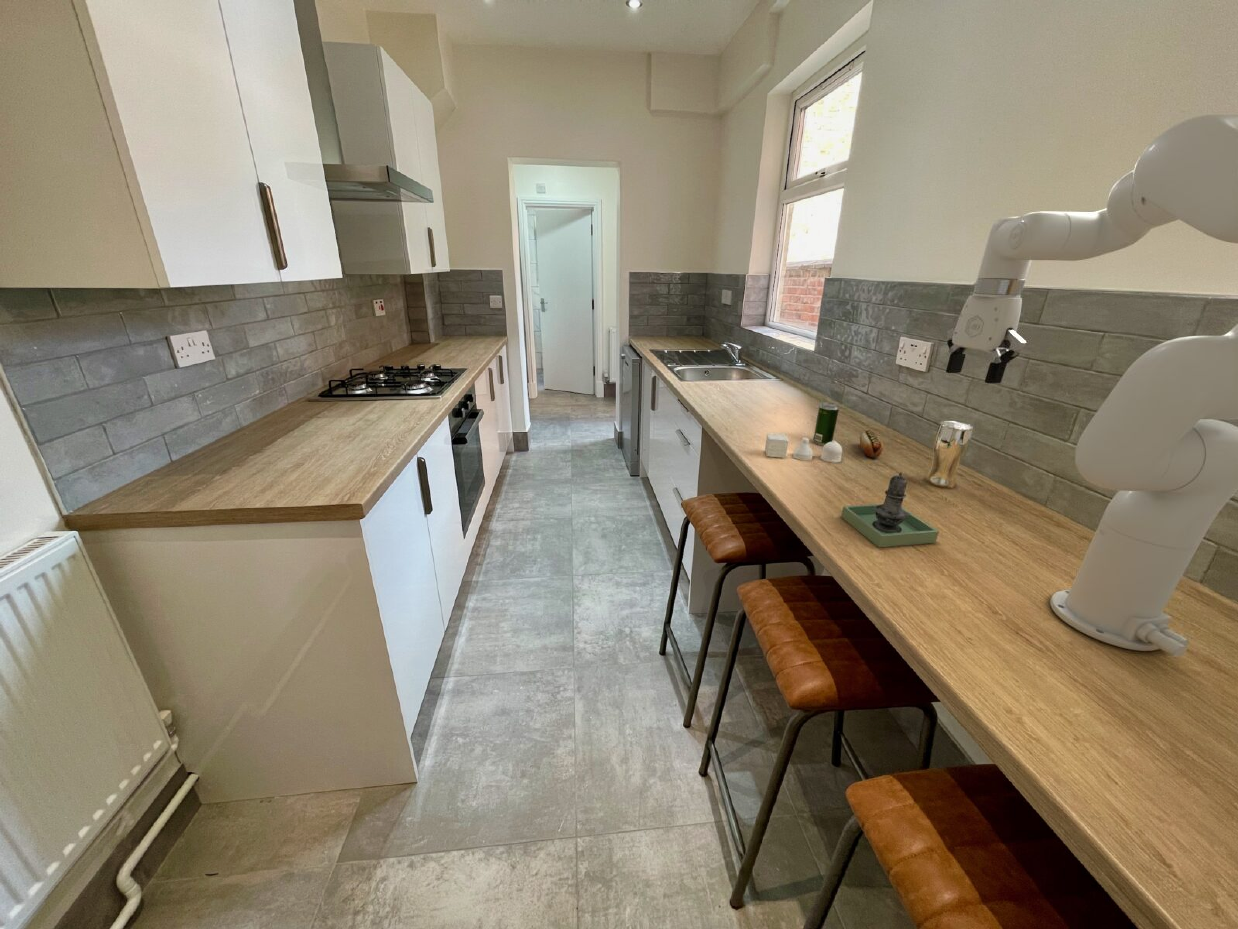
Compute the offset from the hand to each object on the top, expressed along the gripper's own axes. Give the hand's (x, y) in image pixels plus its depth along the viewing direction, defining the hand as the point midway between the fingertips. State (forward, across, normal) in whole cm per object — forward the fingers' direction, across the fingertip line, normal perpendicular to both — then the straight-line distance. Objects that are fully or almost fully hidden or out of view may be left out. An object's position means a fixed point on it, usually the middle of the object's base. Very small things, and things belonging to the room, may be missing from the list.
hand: (971, 377), depth 100 cm
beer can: (+28, -40, -4) cm, 49 cm away
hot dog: (+28, -31, +5) cm, 42 cm away
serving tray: (+28, +10, -20) cm, 36 cm away
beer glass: (+28, -9, +9) cm, 31 cm away
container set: (+28, -30, -16) cm, 44 cm away
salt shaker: (+28, +10, -20) cm, 36 cm away
